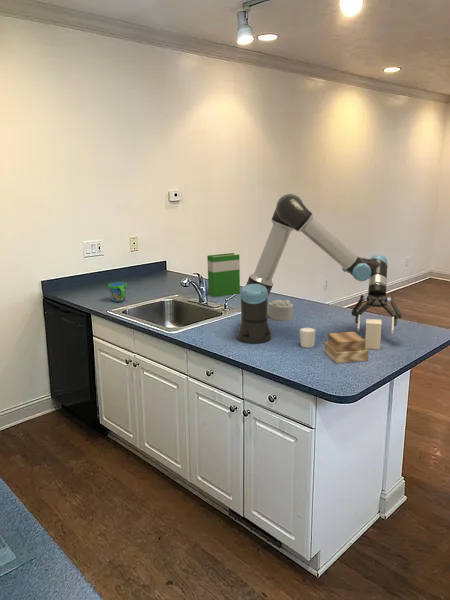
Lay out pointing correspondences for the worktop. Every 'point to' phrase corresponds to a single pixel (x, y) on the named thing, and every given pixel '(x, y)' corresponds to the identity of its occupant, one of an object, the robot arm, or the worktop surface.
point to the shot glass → (307, 337)
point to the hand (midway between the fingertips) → (375, 330)
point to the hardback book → (223, 274)
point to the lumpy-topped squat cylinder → (281, 310)
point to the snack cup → (117, 291)
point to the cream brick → (373, 334)
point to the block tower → (346, 347)
